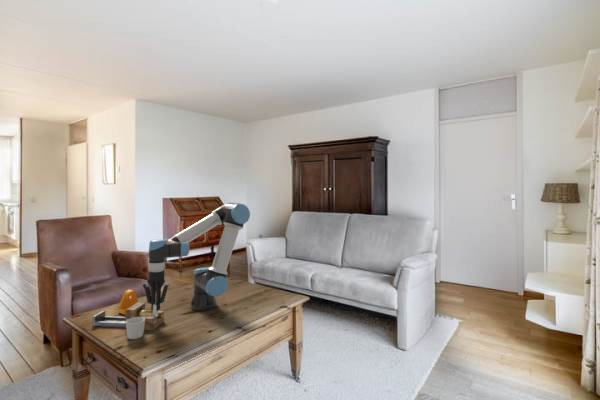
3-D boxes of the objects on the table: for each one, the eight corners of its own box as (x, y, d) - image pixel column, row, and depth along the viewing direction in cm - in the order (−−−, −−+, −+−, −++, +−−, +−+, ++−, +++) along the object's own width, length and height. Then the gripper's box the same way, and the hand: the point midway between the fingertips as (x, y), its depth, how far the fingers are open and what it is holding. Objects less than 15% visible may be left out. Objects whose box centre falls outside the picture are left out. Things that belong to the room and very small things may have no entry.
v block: (135, 321, 169) (135, 311, 169) (126, 327, 161) (126, 317, 161) (102, 320, 169) (103, 310, 169) (92, 326, 161) (92, 316, 161)
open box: (163, 321, 170) (164, 303, 170) (153, 329, 159) (154, 310, 159) (137, 320, 170) (137, 302, 170) (125, 328, 159) (126, 309, 159)
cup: (132, 331, 157) (132, 314, 157) (149, 331, 158) (149, 314, 158) (122, 341, 146) (122, 323, 146) (140, 341, 147) (140, 323, 147)
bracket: (123, 316, 176) (124, 294, 176) (118, 313, 180) (118, 291, 180) (143, 311, 184) (143, 290, 184) (137, 308, 189) (138, 287, 188)
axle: (156, 318, 167) (156, 309, 167) (152, 320, 162) (152, 311, 163) (129, 317, 167) (130, 308, 167) (124, 319, 163) (125, 310, 163)
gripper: (172, 269, 168) (171, 314, 168) (147, 268, 168) (146, 313, 168) (166, 272, 160) (164, 319, 160) (140, 271, 161) (139, 318, 161)
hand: (155, 316), depth 164 cm, fingers closed
